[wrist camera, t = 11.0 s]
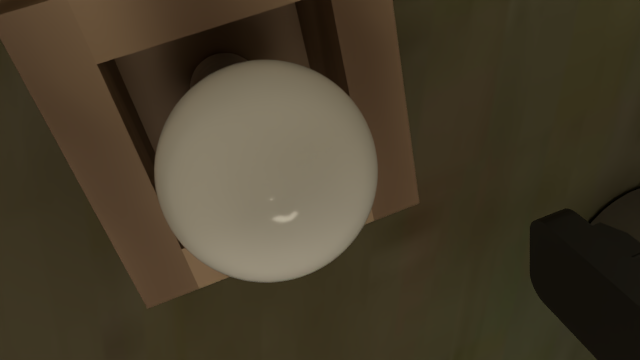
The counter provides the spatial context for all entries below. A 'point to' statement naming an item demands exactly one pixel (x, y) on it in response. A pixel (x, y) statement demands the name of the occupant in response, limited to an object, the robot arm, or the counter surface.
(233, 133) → the lightbulb
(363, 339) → the counter surface
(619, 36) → the counter surface
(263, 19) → the socket block
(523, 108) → the counter surface
